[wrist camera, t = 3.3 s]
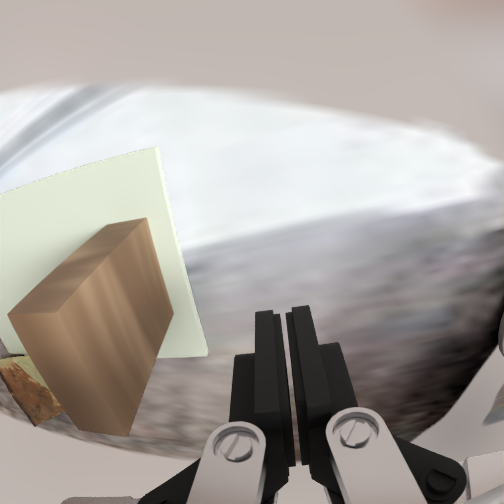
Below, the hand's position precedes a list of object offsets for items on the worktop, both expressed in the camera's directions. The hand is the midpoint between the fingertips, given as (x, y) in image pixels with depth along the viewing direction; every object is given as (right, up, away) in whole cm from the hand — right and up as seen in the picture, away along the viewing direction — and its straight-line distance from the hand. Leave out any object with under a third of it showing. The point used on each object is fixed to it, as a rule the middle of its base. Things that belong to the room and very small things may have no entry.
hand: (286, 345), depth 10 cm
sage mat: (-14, +1, +9) cm, 17 cm away
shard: (-21, -10, +14) cm, 27 cm away
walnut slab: (-7, +2, +8) cm, 11 cm away
